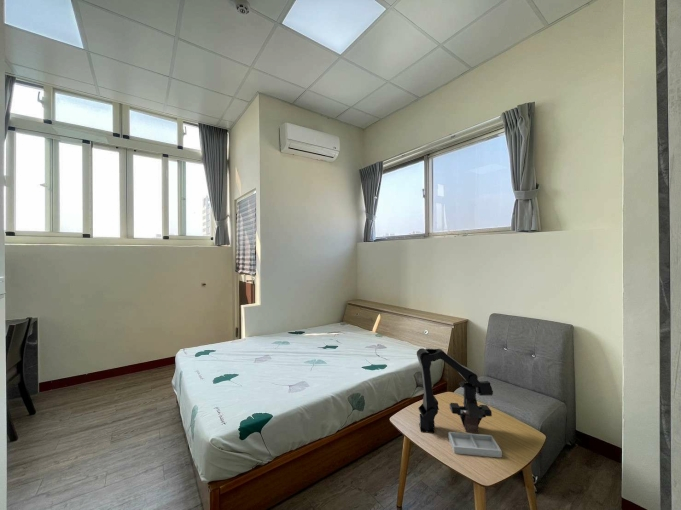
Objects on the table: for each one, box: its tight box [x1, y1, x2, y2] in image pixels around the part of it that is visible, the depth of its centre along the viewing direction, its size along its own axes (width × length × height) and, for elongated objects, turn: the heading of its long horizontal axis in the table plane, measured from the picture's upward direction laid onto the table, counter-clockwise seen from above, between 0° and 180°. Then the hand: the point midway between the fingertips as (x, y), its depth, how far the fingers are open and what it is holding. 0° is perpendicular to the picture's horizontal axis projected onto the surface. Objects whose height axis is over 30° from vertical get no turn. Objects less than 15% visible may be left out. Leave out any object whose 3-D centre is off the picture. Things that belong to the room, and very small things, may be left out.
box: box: [463, 411, 479, 434], centre depth 137 cm, size 6×6×7 cm
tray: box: [447, 431, 503, 458], centre depth 123 cm, size 20×11×3 cm, turn 82°
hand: (470, 426), depth 137 cm, fingers closed on box, 6 cm apart
